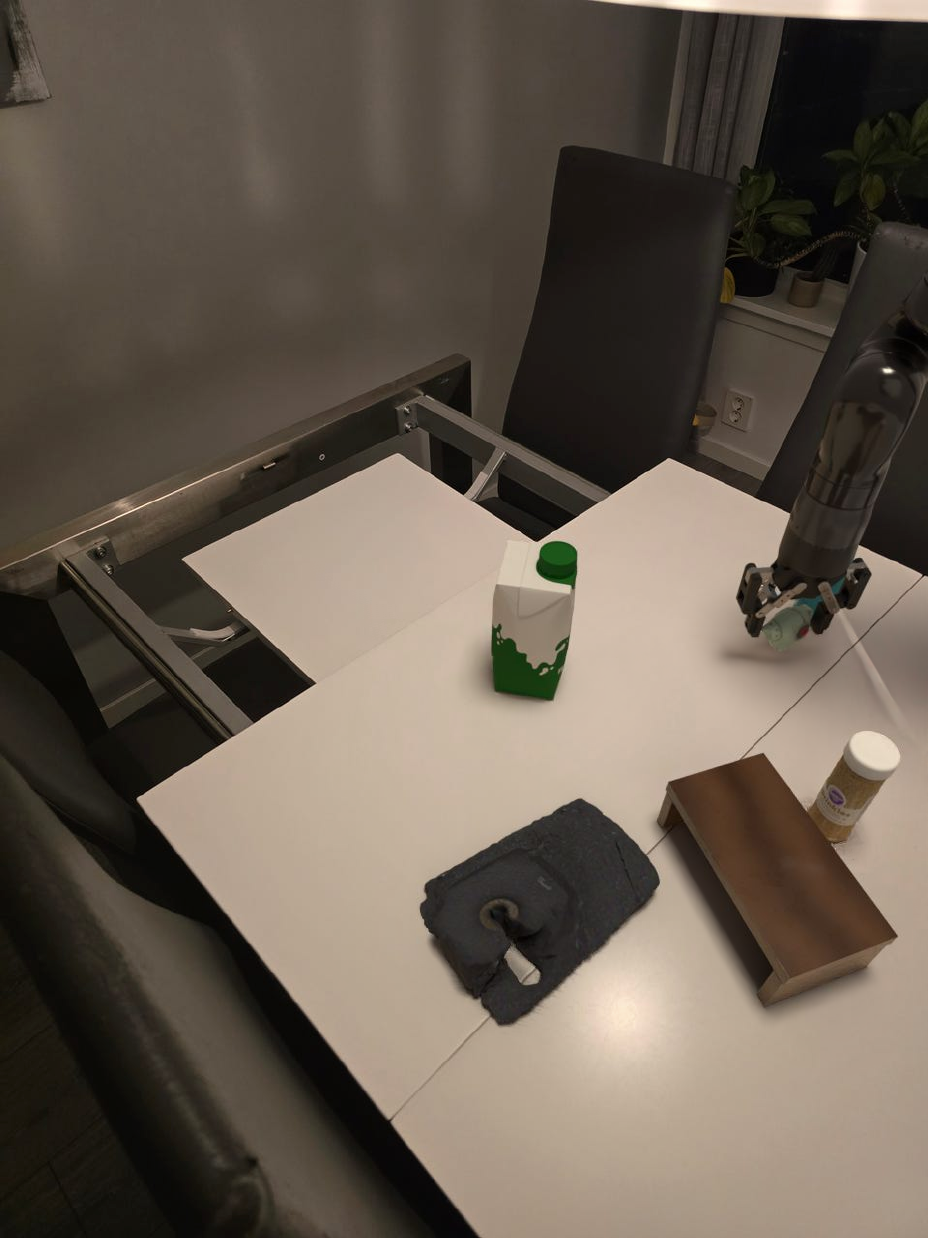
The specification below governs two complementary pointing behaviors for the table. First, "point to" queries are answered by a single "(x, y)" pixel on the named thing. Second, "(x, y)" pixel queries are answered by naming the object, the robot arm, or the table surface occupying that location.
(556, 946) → the dark slate chunk
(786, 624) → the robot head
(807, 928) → the shelf
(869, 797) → the sprinkles bottle
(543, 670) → the milk carton
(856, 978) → the table surface
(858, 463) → the robot arm
